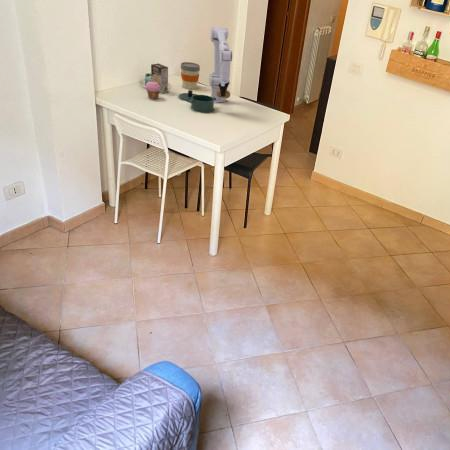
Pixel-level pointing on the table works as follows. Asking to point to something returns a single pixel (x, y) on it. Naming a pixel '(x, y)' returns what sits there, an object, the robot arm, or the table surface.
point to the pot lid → (186, 95)
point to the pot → (202, 103)
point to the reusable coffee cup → (190, 74)
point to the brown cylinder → (225, 94)
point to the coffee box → (160, 76)
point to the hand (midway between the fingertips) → (223, 95)
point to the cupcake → (153, 89)
